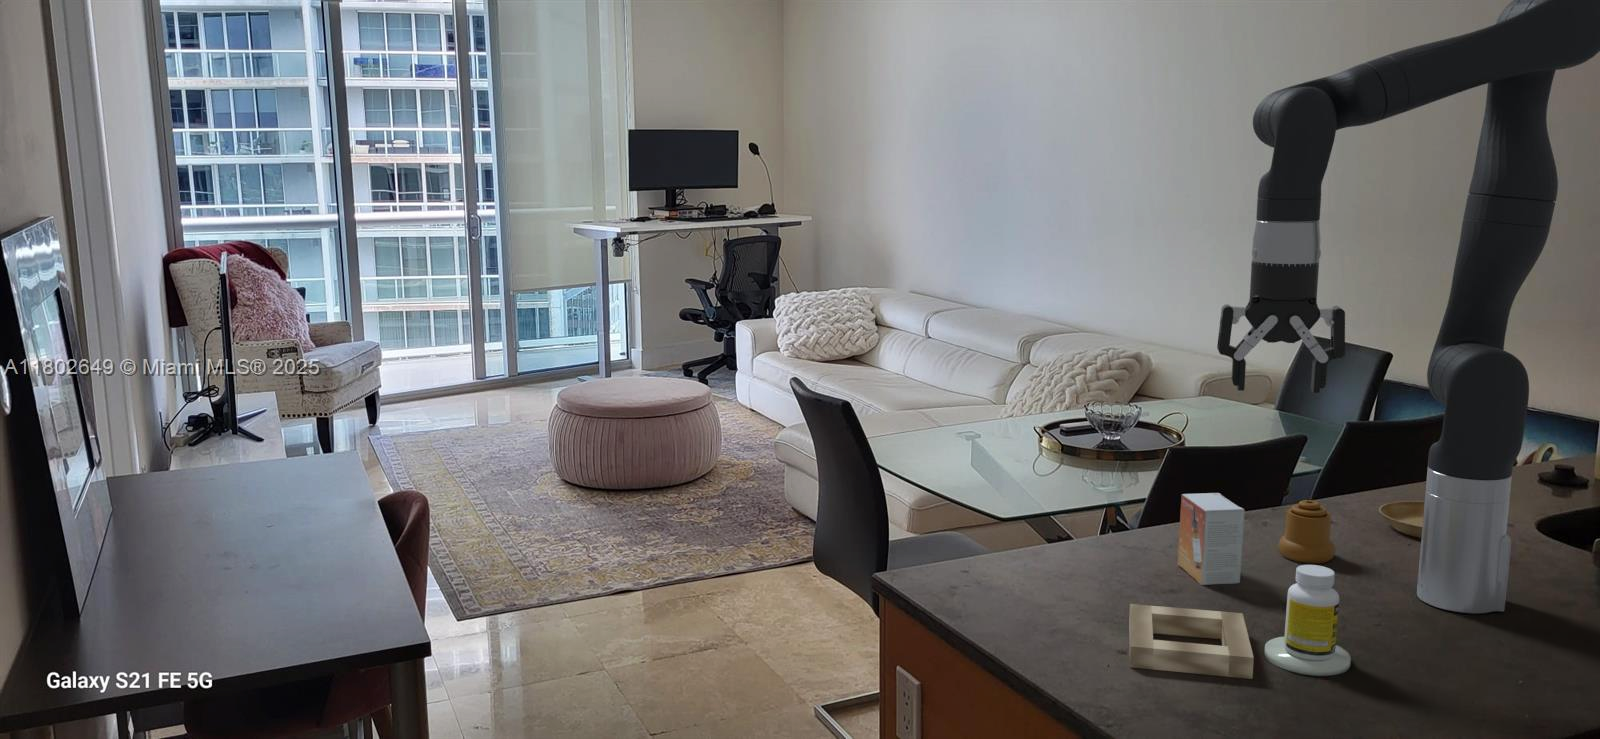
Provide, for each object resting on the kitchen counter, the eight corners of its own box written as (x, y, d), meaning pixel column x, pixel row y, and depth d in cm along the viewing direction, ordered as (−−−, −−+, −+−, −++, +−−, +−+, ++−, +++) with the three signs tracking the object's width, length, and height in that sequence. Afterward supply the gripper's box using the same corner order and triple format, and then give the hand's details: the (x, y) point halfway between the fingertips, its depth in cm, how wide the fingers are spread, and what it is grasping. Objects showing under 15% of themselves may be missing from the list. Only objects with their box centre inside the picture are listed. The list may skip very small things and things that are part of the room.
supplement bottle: (1340, 663, 131) (1346, 580, 129) (1288, 660, 132) (1294, 577, 130) (1329, 644, 136) (1335, 563, 134) (1279, 640, 137) (1284, 560, 135)
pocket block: (1241, 632, 142) (1242, 613, 141) (1252, 679, 129) (1253, 657, 129) (1129, 623, 145) (1130, 603, 145) (1129, 667, 133) (1130, 646, 132)
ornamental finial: (1329, 568, 163) (1272, 558, 167) (1339, 553, 169) (1284, 544, 173) (1333, 513, 162) (1275, 504, 166) (1343, 499, 168) (1287, 491, 172)
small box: (1176, 565, 165) (1180, 493, 163) (1215, 563, 165) (1219, 491, 164) (1200, 586, 157) (1204, 510, 155) (1241, 584, 158) (1245, 508, 156)
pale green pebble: (1342, 646, 137) (1343, 640, 137) (1357, 679, 129) (1357, 672, 129) (1260, 639, 140) (1260, 633, 140) (1269, 671, 131) (1269, 664, 131)
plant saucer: (1356, 521, 184) (1357, 505, 183) (1430, 512, 188) (1432, 496, 188) (1432, 551, 170) (1434, 534, 169) (1511, 540, 174) (1513, 523, 174)
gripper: (1344, 256, 143) (1334, 387, 146) (1220, 255, 147) (1213, 382, 150) (1355, 262, 136) (1345, 399, 139) (1224, 260, 140) (1218, 394, 142)
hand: (1277, 390), depth 144 cm, fingers open, 8 cm apart
